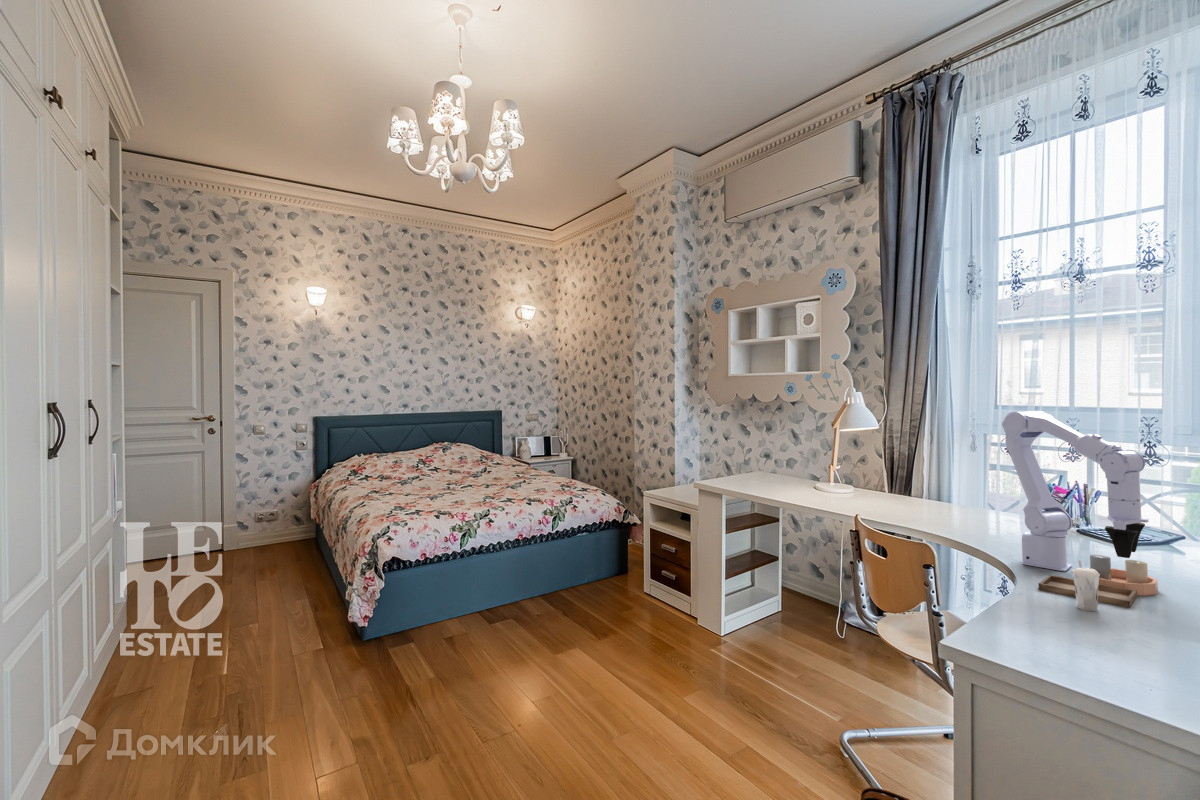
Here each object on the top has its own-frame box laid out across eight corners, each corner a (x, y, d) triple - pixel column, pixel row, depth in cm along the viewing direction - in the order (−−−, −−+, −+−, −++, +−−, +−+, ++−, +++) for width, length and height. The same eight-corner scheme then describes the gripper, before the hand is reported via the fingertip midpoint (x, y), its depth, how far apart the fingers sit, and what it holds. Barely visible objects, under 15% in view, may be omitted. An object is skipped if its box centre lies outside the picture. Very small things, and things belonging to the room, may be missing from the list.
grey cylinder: (1090, 580, 133) (1089, 556, 133) (1091, 576, 135) (1090, 553, 135) (1111, 583, 130) (1109, 559, 130) (1112, 580, 133) (1110, 556, 133)
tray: (1038, 589, 129) (1038, 583, 129) (1049, 580, 135) (1049, 574, 135) (1129, 607, 117) (1129, 601, 117) (1137, 597, 123) (1136, 590, 123)
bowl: (1078, 585, 131) (1077, 575, 131) (1089, 574, 139) (1089, 564, 139) (1152, 599, 121) (1152, 588, 121) (1160, 586, 129) (1160, 576, 129)
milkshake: (1094, 605, 119) (1092, 561, 119) (1105, 614, 114) (1103, 568, 114) (1068, 602, 121) (1066, 559, 121) (1078, 611, 116) (1076, 566, 116)
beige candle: (1125, 586, 128) (1124, 562, 128) (1126, 583, 130) (1125, 559, 130) (1147, 590, 125) (1146, 565, 125) (1148, 586, 127) (1147, 562, 127)
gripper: (1142, 505, 122) (1144, 563, 121) (1151, 497, 130) (1154, 551, 130) (1100, 501, 127) (1103, 557, 127) (1112, 494, 136) (1115, 546, 136)
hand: (1126, 554), depth 129 cm, fingers open, 7 cm apart
